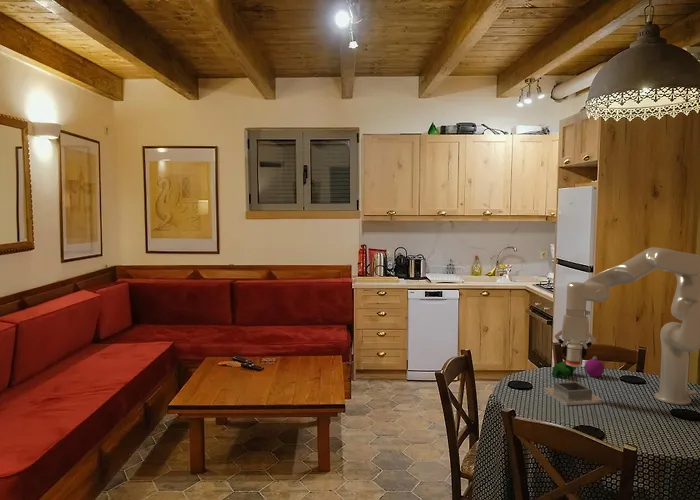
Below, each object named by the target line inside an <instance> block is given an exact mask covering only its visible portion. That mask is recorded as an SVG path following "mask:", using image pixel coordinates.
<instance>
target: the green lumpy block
mask: <svg viewBox="0 0 700 500" xmlns="http://www.w3.org/2000/svg"><path fill="white" fill-rule="evenodd" d="M575 370H577V367H573V366H569V365H567V364H566V359H565V360H564V361H561V362H557V363H556V364H554V366H553V369H552V371H551V376H553V377H555V378H559V377H561V378H564V379H568V377H569V376H570V377H573V375H574V373H575V372H574V371H575Z"/></svg>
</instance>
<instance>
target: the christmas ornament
mask: <svg viewBox="0 0 700 500" xmlns="http://www.w3.org/2000/svg"><path fill="white" fill-rule="evenodd" d="M584 370H585V372H586V373H587V375H588V376H590V377H594V378H597V377H600V376H602V375H603V373H604V371H605V365H604V363H603V362H602V361H601V360H600V359H598V357H597V356H592V358H591V359H588V360H587V361H585V364H584Z"/></svg>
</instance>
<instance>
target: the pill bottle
mask: <svg viewBox="0 0 700 500" xmlns="http://www.w3.org/2000/svg"><path fill="white" fill-rule="evenodd" d="M566 346H567V348H566V356H565V360H566V364H567V365H569V366H573V367H576V368H579V367H582V366H583V358H582V356H583V343H582V342H580V340H579V339H570V340H568V341H567V343H566Z"/></svg>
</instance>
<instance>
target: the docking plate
mask: <svg viewBox="0 0 700 500" xmlns="http://www.w3.org/2000/svg"><path fill="white" fill-rule="evenodd" d="M543 393H546V394H547V395H549V396H550V397H551V398H553V399H555V400H556V401H558V402H560V403H561V404H562V405H564V406H565V407H566V406H578V405H579V406H581V405H595V404H597V405H598V404H603V399H602V398H601V397H599V396H597V395H595V394H594V393H593V389H592V388H590V387H587V386H585V385H584V384H582V383H580V382H578V381H564V382H563V381H562V382H554V383H553V387H544V388H543Z"/></svg>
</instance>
